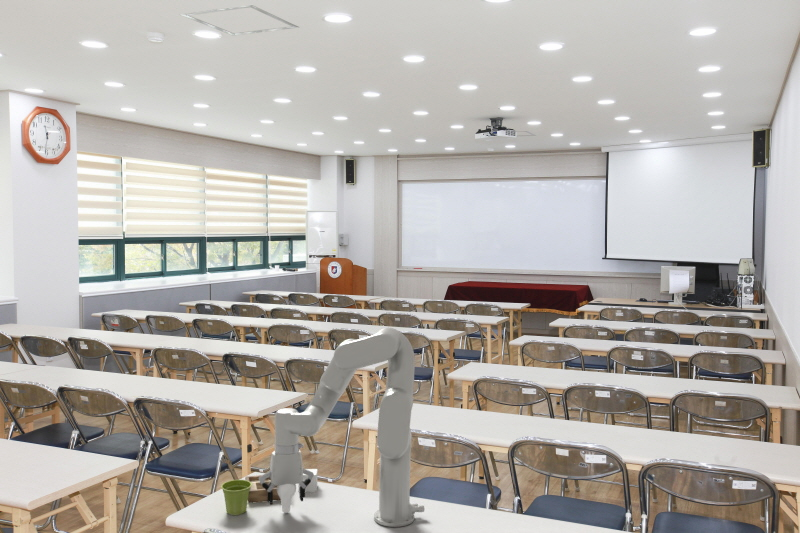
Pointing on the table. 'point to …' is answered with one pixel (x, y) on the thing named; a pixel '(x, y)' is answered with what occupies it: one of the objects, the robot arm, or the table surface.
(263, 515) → the table surface
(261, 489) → the socket box
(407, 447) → the robot arm
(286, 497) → the lightbulb
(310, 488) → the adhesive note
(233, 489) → the plant pot
